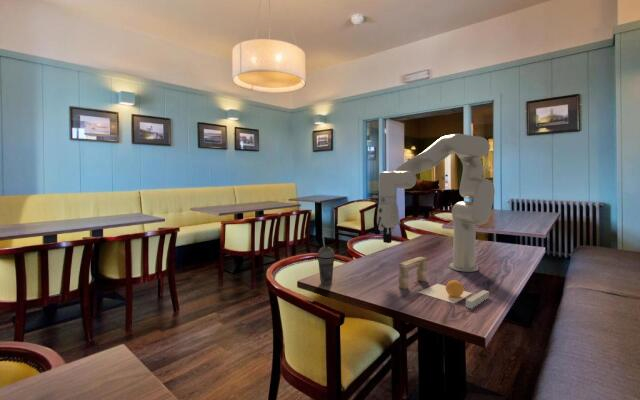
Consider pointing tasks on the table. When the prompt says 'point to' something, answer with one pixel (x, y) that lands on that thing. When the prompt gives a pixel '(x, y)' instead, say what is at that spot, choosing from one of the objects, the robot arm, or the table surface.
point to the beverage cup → (326, 264)
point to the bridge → (405, 268)
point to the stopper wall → (477, 299)
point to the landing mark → (443, 293)
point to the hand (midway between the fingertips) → (387, 242)
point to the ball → (454, 288)
